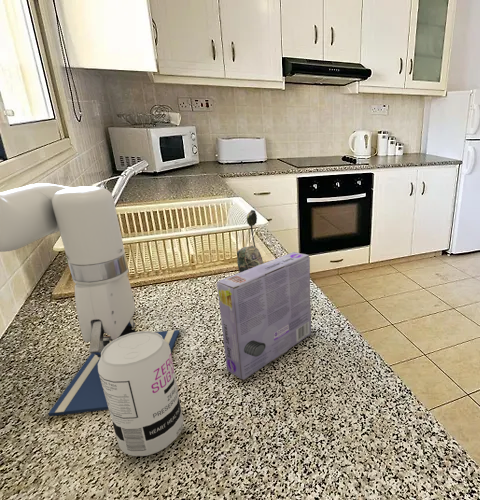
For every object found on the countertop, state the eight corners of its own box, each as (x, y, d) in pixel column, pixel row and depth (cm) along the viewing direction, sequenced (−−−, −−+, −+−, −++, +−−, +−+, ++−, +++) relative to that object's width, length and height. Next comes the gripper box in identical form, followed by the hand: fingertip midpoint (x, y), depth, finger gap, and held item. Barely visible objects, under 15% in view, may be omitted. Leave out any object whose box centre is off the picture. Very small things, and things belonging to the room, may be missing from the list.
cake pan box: (298, 323, 80) (296, 247, 74) (316, 332, 78) (315, 253, 71) (224, 371, 66) (213, 281, 59) (243, 383, 63) (233, 290, 56)
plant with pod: (229, 293, 92) (220, 215, 85) (261, 277, 101) (256, 205, 94) (253, 302, 88) (246, 222, 81) (284, 284, 97) (281, 210, 90)
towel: (49, 416, 55) (47, 413, 55) (104, 338, 74) (103, 335, 73) (150, 404, 58) (149, 401, 58) (179, 332, 76) (179, 329, 76)
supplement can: (123, 422, 55) (100, 336, 49) (184, 406, 58) (169, 323, 52) (115, 468, 48) (88, 374, 42) (184, 447, 51) (167, 357, 46)
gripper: (96, 248, 66) (117, 334, 72) (42, 294, 50) (75, 398, 57) (142, 246, 67) (159, 331, 74) (103, 290, 52) (128, 393, 58)
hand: (122, 359), depth 65 cm, fingers closed on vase, 5 cm apart
